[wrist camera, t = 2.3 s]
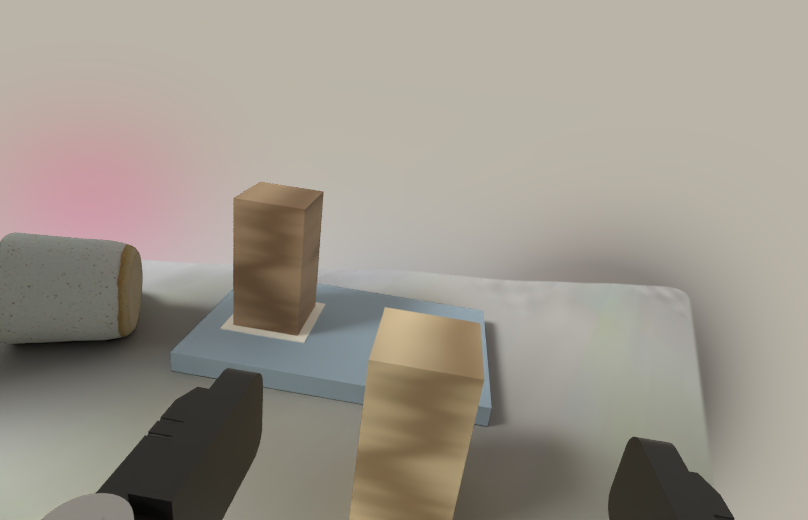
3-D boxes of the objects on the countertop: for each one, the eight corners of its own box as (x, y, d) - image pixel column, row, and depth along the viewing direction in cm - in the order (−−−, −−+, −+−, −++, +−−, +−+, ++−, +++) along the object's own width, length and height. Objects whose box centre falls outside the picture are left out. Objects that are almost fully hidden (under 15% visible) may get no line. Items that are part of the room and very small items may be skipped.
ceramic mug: (134, 357, 36) (126, 257, 33) (-7, 366, 33) (-28, 257, 30) (152, 292, 45) (146, 209, 42) (43, 294, 42) (30, 206, 40)
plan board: (171, 370, 35) (170, 350, 34) (249, 286, 48) (249, 271, 47) (487, 426, 34) (491, 406, 33) (480, 325, 47) (483, 309, 46)
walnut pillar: (233, 325, 38) (233, 198, 35) (257, 296, 43) (260, 181, 39) (297, 335, 38) (304, 209, 34) (315, 305, 43) (323, 191, 39)
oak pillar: (348, 526, 25) (368, 359, 22) (365, 455, 30) (384, 307, 26) (446, 545, 25) (484, 379, 21) (448, 470, 30) (480, 323, 26)
